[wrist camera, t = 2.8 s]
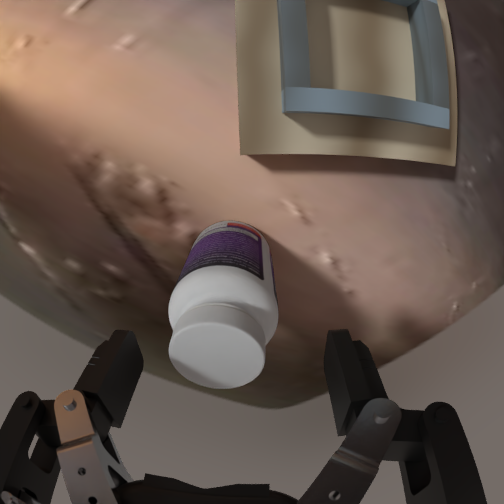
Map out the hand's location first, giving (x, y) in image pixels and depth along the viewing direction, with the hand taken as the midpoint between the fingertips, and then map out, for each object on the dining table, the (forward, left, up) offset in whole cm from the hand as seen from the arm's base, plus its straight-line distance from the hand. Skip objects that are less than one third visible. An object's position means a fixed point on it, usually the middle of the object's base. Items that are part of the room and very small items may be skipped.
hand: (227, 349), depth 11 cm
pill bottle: (0, 0, -10) cm, 10 cm away
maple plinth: (+7, +14, -9) cm, 18 cm away
